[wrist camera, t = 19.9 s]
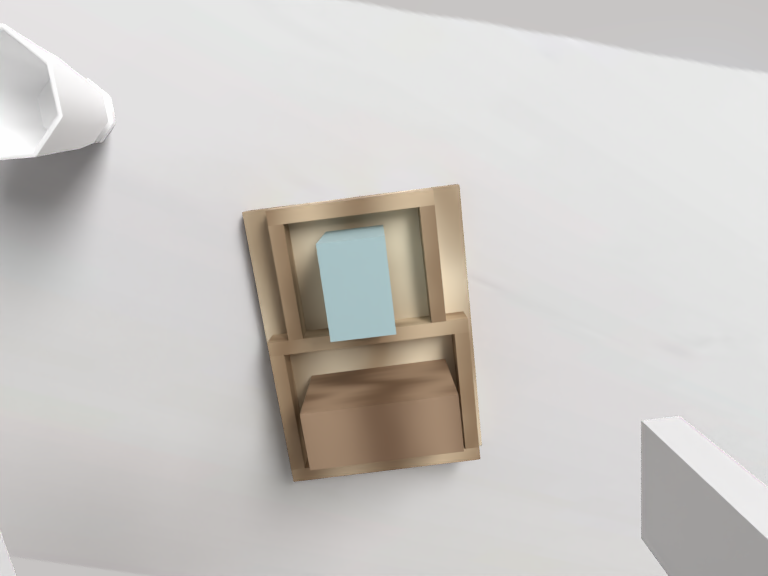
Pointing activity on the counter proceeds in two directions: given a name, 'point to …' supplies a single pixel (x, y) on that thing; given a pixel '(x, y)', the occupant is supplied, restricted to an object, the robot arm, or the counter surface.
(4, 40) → the cup
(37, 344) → the counter surface
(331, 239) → the pale teal block
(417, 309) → the tray
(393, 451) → the brown wooden block
